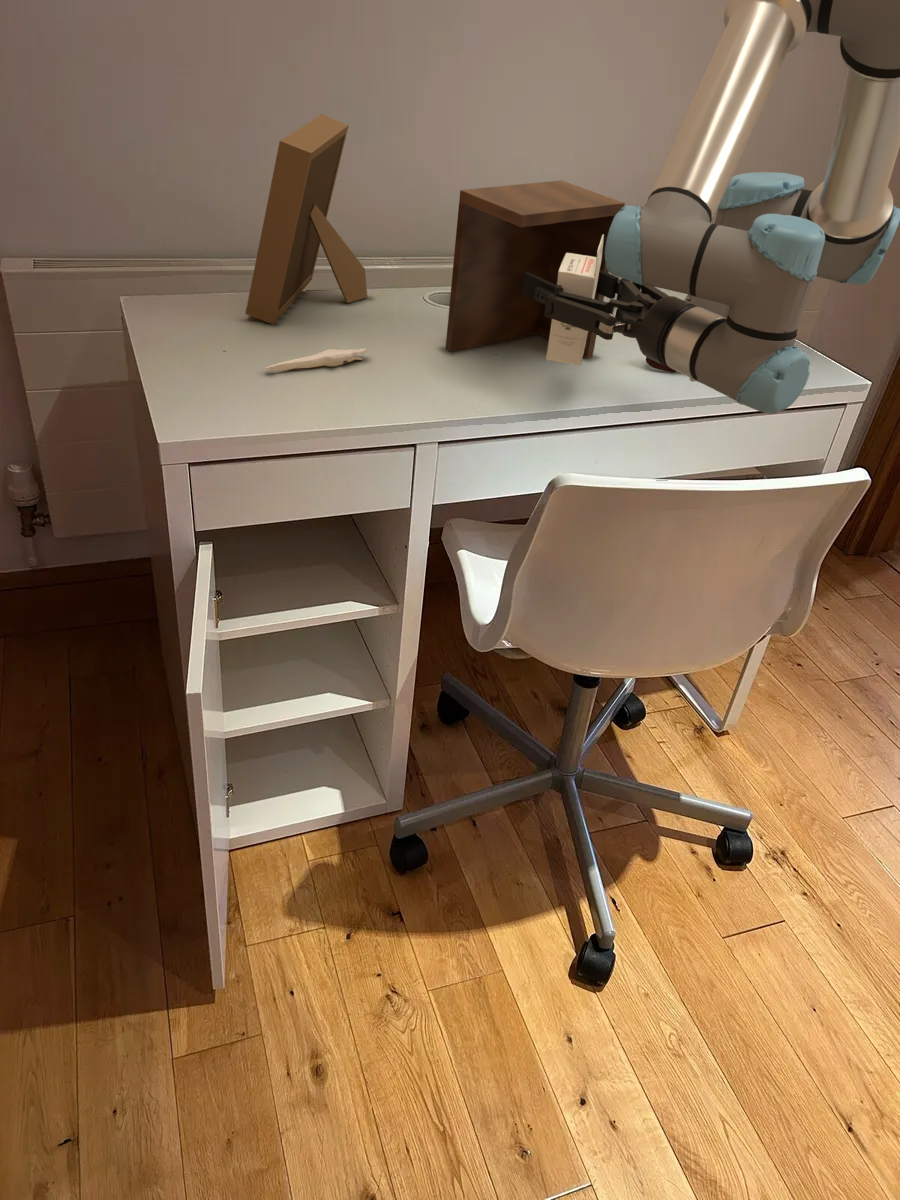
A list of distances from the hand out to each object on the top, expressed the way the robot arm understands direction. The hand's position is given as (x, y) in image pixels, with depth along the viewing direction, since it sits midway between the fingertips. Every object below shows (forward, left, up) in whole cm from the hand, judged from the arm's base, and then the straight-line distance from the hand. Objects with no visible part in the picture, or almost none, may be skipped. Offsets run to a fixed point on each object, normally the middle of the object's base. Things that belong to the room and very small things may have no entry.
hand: (553, 278), depth 122 cm
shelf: (-3, -8, -14) cm, 16 cm away
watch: (-21, +6, -14) cm, 26 cm away
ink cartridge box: (0, +4, -9) cm, 10 cm away
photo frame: (+14, -37, -14) cm, 42 cm away
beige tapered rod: (+26, -16, -14) cm, 34 cm away
